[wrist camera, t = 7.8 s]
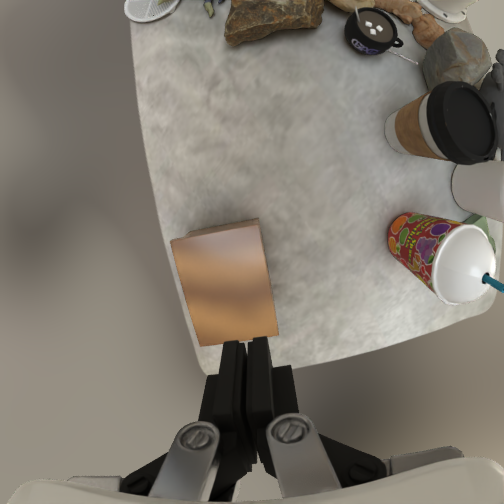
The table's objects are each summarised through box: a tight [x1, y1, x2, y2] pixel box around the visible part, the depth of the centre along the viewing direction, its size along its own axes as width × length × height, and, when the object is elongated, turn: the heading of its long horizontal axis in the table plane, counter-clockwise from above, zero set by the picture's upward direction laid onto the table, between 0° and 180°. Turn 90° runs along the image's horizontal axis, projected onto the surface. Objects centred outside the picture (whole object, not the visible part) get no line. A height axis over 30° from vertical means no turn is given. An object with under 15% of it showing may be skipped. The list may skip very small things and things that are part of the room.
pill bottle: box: [452, 160, 504, 223], centre depth 27 cm, size 8×8×15 cm
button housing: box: [463, 214, 496, 252], centre depth 35 cm, size 9×8×4 cm
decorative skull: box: [479, 49, 504, 161], centre depth 26 cm, size 19×12×15 cm
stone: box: [423, 27, 492, 92], centre depth 24 cm, size 12×8×8 cm
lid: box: [170, 223, 279, 347], centre depth 30 cm, size 12×9×1 cm
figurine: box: [374, 0, 445, 50], centre depth 27 cm, size 7×4×20 cm
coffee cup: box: [385, 81, 498, 165], centre depth 26 cm, size 8×8×15 cm
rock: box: [224, 0, 324, 46], centre depth 26 cm, size 14×6×10 cm
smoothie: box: [388, 213, 504, 305], centre depth 27 cm, size 8×8×20 cm
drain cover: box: [124, 0, 179, 22], centre depth 27 cm, size 8×8×1 cm
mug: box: [345, 7, 419, 65], centre depth 26 cm, size 12×6×7 cm, turn 78°
